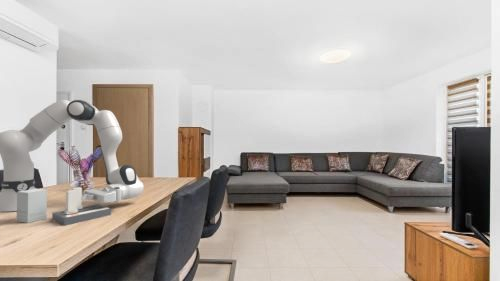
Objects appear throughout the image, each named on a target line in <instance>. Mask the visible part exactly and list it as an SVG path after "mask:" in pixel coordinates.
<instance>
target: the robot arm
mask: <svg viewBox="0 0 500 281" xmlns="http://www.w3.org/2000/svg"><path fill="white" fill-rule="evenodd" d="M71 120H74V121H76V122H79V123H81V124H85V125H88V126H95V129H96V132H97V135H98V138H99V141H100V148H101V154H102V160H103V164H104V167H105V172H106V173H105V182H106V185H105V187H104V188H91V189H84V190H82V201H94V202H98V203H102V204H106V203H121V201H122V200H129V199H135V198H137V197H139V196H142V194H143V192H144V189H145V186H144V182H143V181H141V180H140V178H139V176H138V174H137V171H136V169H135V167H134V166H133V165H131V164H124V165H121V166H119V163H118V159H117V150H118V148H119V145H120V144H121V143H122V140H123V132H122V128H121V126H120V124H119V121H118V119H117V117H116V116H115V114H114V113H113V112H112V111H111V110H109V109H108V110H107V109H102V110H99V108H98V107H96V106H95V105H93V104H91V103H89V102H87V101H85V100H83V99H82V100H81V99H74V100H72V101H70V100H68V99H59V100H57V101H56V102H53V103H51V104H50V105H48V106H46V107H45V108H43V110H41V111H39V112H37V113H36V114H34V115H33V117H31V118H30V119H29V122H28V123H27V124H26V125H25V127H23V128H22V129H20V130H14V129H13V130H12V129H11V130H5V131H2V132H0V158H1V160H2V166H3V180H2V181H1V190H0V212H3V213H4V212H5V213H6V212H17V192H19V191H25V190H31V189H38V188H36V187H35V184H36V179H35V178H34V176H35V164H34V162H33V161H32V158H31V155H30V152H31V153H32V152H33V151H36V150H38V149H39V148H40V147H41V146H42V144H43V143H44V142H45V140H47V138H49V137H50V135H52V134H53V133H54V132H55V131H57V130H58V129H60V128H61V127H62V126H64V125H65V124H67V122H69V121H71Z"/></svg>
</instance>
